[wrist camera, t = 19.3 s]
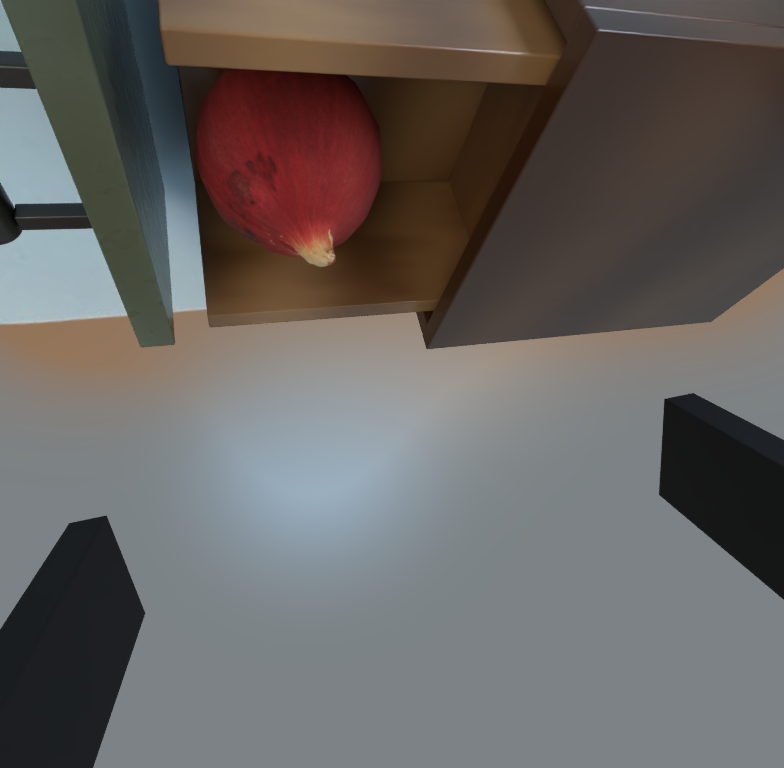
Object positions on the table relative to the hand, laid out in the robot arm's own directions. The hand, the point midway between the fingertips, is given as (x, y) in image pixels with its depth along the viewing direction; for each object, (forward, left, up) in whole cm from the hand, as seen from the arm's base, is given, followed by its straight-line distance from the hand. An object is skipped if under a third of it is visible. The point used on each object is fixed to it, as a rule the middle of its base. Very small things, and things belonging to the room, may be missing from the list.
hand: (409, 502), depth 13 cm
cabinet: (0, +12, -17) cm, 21 cm away
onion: (0, -1, -16) cm, 16 cm away
